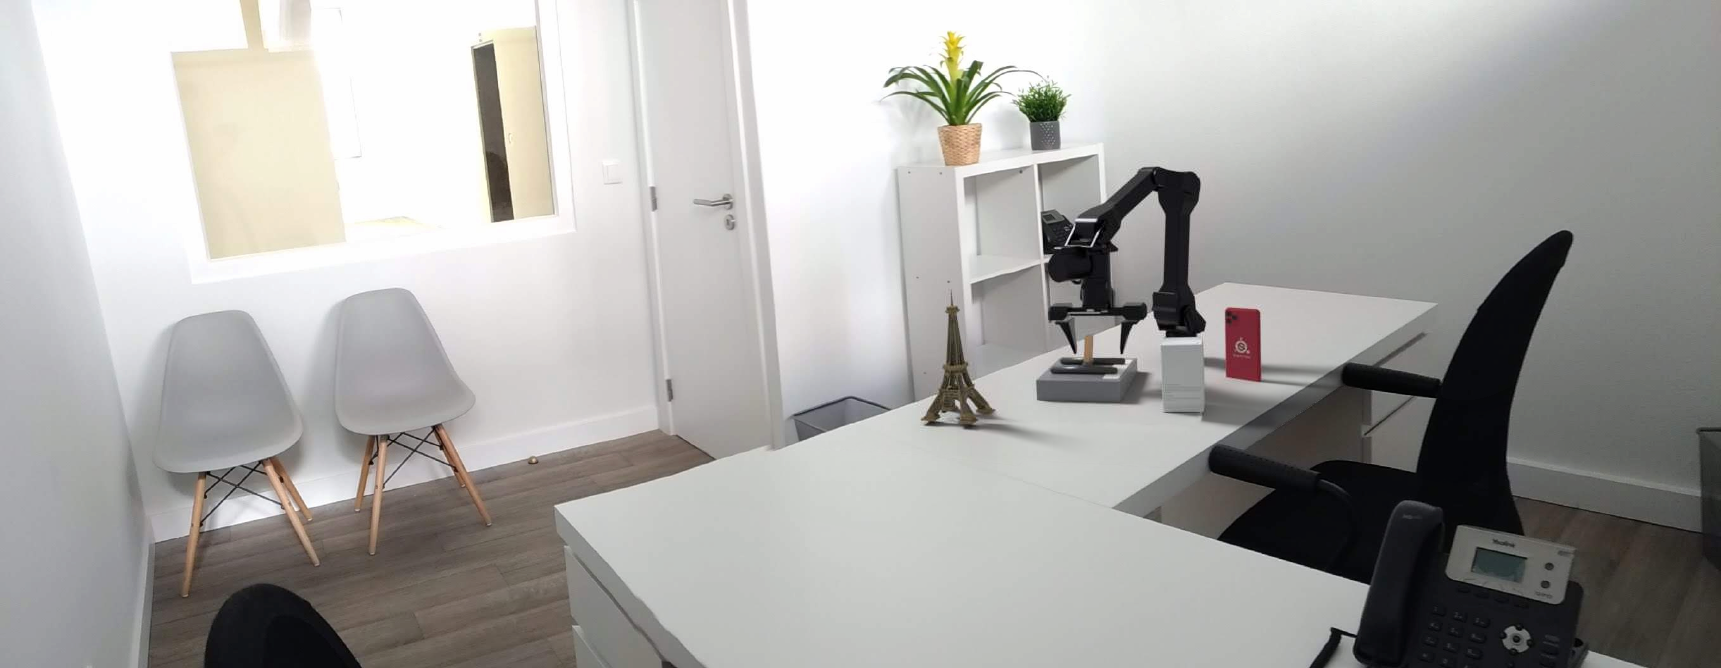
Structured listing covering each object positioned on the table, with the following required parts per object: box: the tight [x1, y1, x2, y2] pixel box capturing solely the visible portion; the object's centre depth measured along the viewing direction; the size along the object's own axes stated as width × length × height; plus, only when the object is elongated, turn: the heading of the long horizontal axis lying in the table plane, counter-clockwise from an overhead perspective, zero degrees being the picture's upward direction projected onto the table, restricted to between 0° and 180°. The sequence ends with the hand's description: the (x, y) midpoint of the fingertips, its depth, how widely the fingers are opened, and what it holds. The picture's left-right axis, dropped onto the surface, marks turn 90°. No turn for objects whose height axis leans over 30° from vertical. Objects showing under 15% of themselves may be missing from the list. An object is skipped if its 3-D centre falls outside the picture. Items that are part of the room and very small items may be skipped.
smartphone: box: [1224, 306, 1262, 383], centre depth 212 cm, size 7×1×15 cm, turn 42°
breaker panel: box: [1035, 356, 1138, 403], centre depth 218 cm, size 16×22×5 cm
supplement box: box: [1159, 336, 1206, 413], centre depth 197 cm, size 7×7×13 cm
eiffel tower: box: [920, 290, 996, 425], centre depth 202 cm, size 11×11×25 cm
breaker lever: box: [1082, 333, 1094, 367], centre depth 217 cm, size 2×4×6 cm, turn 157°
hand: (1098, 354), depth 216 cm, fingers open, 9 cm apart
